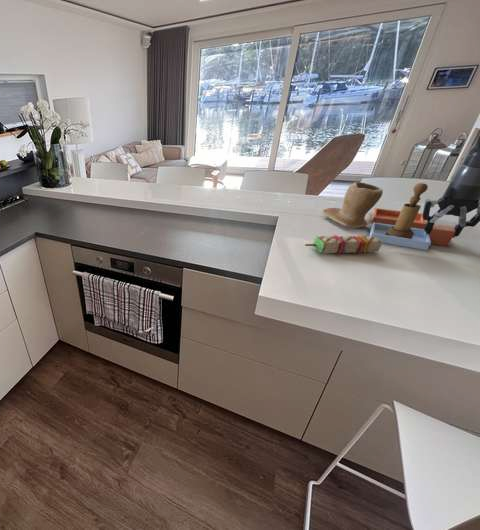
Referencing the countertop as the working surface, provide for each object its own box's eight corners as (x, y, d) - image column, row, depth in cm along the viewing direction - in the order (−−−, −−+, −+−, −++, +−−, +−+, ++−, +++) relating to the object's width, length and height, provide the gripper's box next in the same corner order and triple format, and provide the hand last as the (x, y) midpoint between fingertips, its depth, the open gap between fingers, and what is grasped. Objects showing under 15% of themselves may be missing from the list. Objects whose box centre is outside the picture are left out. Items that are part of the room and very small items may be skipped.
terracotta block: (445, 240, 93) (453, 226, 90) (447, 246, 90) (455, 231, 87) (424, 237, 96) (431, 223, 93) (425, 242, 93) (433, 228, 90)
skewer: (366, 246, 94) (372, 232, 91) (380, 255, 88) (386, 240, 86) (299, 247, 96) (302, 233, 94) (307, 256, 91) (311, 242, 88)
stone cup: (377, 229, 104) (394, 187, 96) (343, 230, 104) (357, 190, 97) (349, 214, 117) (362, 177, 109) (319, 216, 117) (330, 179, 110)
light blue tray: (424, 237, 96) (428, 230, 95) (427, 250, 89) (431, 242, 87) (370, 228, 104) (373, 222, 103) (369, 240, 97) (371, 233, 95)
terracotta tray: (421, 220, 107) (424, 213, 106) (423, 231, 100) (426, 224, 98) (372, 214, 115) (375, 208, 114) (371, 223, 108) (373, 217, 106)
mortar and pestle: (380, 235, 98) (402, 182, 89) (393, 231, 100) (416, 179, 90) (402, 243, 92) (429, 187, 83) (415, 238, 94) (443, 184, 85)
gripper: (437, 181, 84) (409, 233, 93) (511, 188, 76) (474, 244, 85) (434, 175, 89) (408, 226, 98) (504, 181, 81) (469, 235, 90)
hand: (439, 234), depth 91 cm, fingers closed on terracotta block, 5 cm apart
